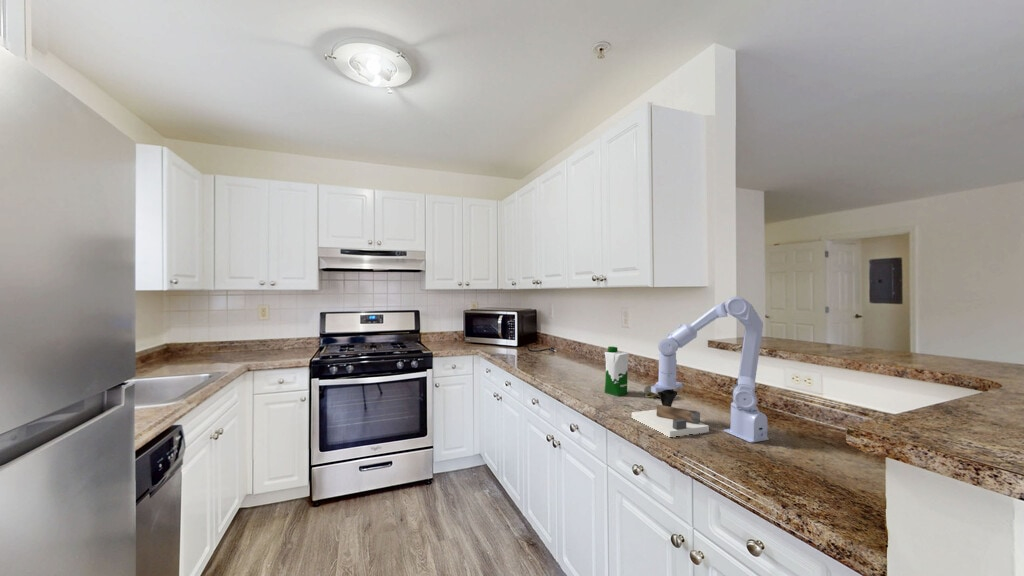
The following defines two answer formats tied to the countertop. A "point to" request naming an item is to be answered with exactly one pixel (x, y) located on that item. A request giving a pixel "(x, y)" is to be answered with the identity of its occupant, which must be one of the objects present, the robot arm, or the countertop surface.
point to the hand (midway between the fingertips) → (666, 410)
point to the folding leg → (678, 413)
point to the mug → (648, 392)
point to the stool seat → (669, 424)
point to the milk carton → (616, 371)
